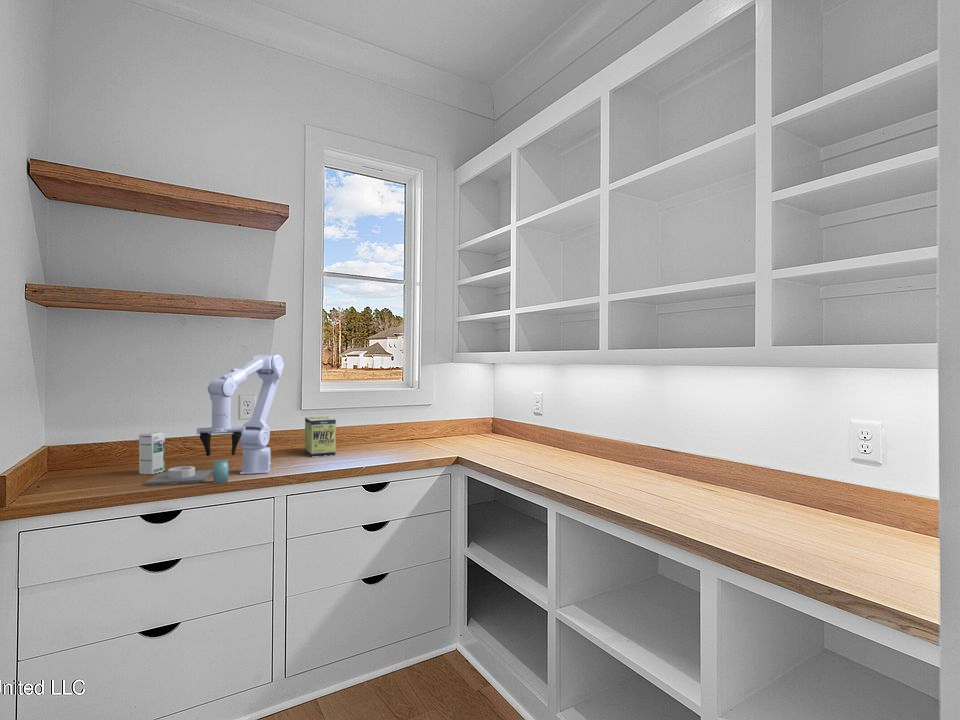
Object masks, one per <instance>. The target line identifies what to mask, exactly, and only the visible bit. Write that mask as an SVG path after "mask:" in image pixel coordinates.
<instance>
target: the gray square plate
mask: <svg viewBox="0 0 960 720" xmlns="http://www.w3.org/2000/svg"><path fill="white" fill-rule="evenodd" d="M213 475H214V469H209V470H207V469H204V470H196V467H195V466H189V465H188V466H187V465H186V466H184V465H183V466H175V467H171V468H168V469H167V471H165V472H160V473H157V474H155V475H154V476H153V477H151V478H150V479H149V480H147V481H145V482H144V486H145V485H149V486H157V485H156V484H168V485H174V484H173V483H188V484H200V483H199V482H203V483H205V482H206V481H207V480H208V479H209V478H210V477H211V476H213ZM209 476H210V477H209ZM208 477H209V478H208ZM207 478H208V479H207Z"/></svg>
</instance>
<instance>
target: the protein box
mask: <svg viewBox="0 0 960 720" xmlns="http://www.w3.org/2000/svg"><path fill="white" fill-rule="evenodd" d="M336 420H337V419H335V418H332V417H330V416H311V417H309V416H308V417H305V418H304V452H305V453H306V454H307V455H308V454H309V455H310V458H313V457H312V456H319V457H325V456H324V455H332V456H336V455H335V454H337V453H336V452H337V450H336V447H337V445H336V444H337V442H336V441H337V440H336V435H337V434H336V433H337V431H336V430H337V427H336V426H337V425H336V424H337V421H336ZM309 455H308V456H309Z"/></svg>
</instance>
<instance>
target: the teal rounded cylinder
mask: <svg viewBox="0 0 960 720" xmlns="http://www.w3.org/2000/svg"><path fill="white" fill-rule="evenodd" d="M213 470H214V473H213V483H214V482H215V483H214V484H224V483H223V482H226V483H228V482H229V460H228V459H218V460H214V461H213ZM227 481H228V482H227Z"/></svg>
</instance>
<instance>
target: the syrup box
mask: <svg viewBox="0 0 960 720" xmlns="http://www.w3.org/2000/svg"><path fill="white" fill-rule="evenodd" d="M165 443H166V433H165V432H163V431H152V432H151V431H150V432H146V433H140V434H139V435H138V453H139V454H138V455H139V456H138V457H139V458H138V459H139V461H138V462H139V467H138V469H139V474H140V475H146V474H153V475H156V474H160V473H161V472H163V471H165V472H166V444H165ZM159 472H160V473H159ZM155 473H156V474H155Z"/></svg>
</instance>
